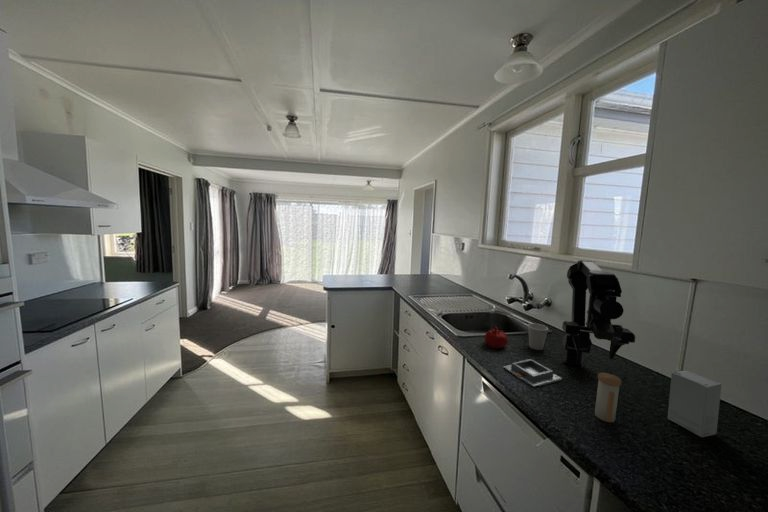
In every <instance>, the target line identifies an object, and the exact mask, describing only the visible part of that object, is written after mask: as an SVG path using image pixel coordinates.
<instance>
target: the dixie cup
mask: <svg viewBox="0 0 768 512" xmlns="http://www.w3.org/2000/svg"><path fill="white" fill-rule="evenodd" d="M527 327H528V346H529V348H530V349H532V350H536V351H542V350H544V347H545V343H546V338H547V334H548V331H549V327H547V326H546V325H544V324H541V323H535V322H534V323H528V324H527Z"/></svg>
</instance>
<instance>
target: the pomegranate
mask: <svg viewBox="0 0 768 512" xmlns="http://www.w3.org/2000/svg"><path fill="white" fill-rule="evenodd" d="M507 335H508V334H507V333H505V331H504V330H502V329H501V330H499V327H497V326H494V328H493V327H490V329H489V330H488V331H486V333H485V334H484V342H485V344H486V345H487V346H488V347H489V348H491V349H504V348H505V347H506V346H507V344H508V342H509V338H508V336H507Z"/></svg>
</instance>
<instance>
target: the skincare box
mask: <svg viewBox="0 0 768 512" xmlns="http://www.w3.org/2000/svg"><path fill="white" fill-rule="evenodd" d="M670 376H671V378H670V388H669V389H670V390H669V398H668V410H667V419H668V420H669V421H671V422H673V423H675V424H677V425H679V426H681V427H682V428H683V429H686V430H687V431H689V432H691V433H692V434H695V435H696V436H698V437H700V438H705V437H710V436H711V437H712V436H715V435H716V434H717V432H718V421H719V412H720V405H721V404H720V403H721V394H722V383H720V382H717V381H714V380H711V379H709V378H707V377H704V376H701V375H699V374H696V373H693V372H691V371H688V370H680V371H673V372H671V375H670Z"/></svg>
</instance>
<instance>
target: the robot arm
mask: <svg viewBox="0 0 768 512" xmlns="http://www.w3.org/2000/svg"><path fill="white" fill-rule="evenodd" d="M566 278H567V279H568V284H569V285H570V287H571V289H572V295H571V296H572V299H571V300H572V301H571V302H572V304H571V321H567V320H565V321H563V322H562V326H561V329H562V331H564V333H565V335H564V336H563V338H562V340H561V341H562V342H561V346H562V348H563V350H566V351H565V358H564V359H563V360H562V363H563V364H566V365H569V366H572V367H573V368H577V369H580V370H581V369H582V368H583V367H584V366H585V364H586V362H584V361H583V359H584V353H587V354H590V352H591V349H592V348H591V347H592V344H593V342H592V339H591V334H593V336H594V338H595V339H597V340H606V341H610V344H609V345H610V346H609V352H608V353H609V355H608V357H609V359H610V360H613V358H614V357H615V356H616V354H617V352H619V349H620V348H622V346H625V345H629V344H630V343H635V342H636V334H634V333H633V332H632V331H631V330H630V329H628V328H624V327H623V326H622V325H621V324H613V323H612V320H617V319H619V318H621V317H622V315H623V314H624V307H623V305H622V304H621V303H620V302H619V301H617V298H621V297H622V295H621V294H622V292H623V291H622V288H621V285H620V281H619V279H618V277H617V275H616V274H615V273H613V272H608V271H604V270H602V269H601V268H600V267H599V266H598V265H597V264H596V261H594V260H590V259H581V260H578V261H577V263H574V264H572V265H570V266H569V268H568V269H567V273H566ZM587 290H588V294H589V299H588V307H586V306H587ZM587 308H588V309H587ZM586 309H587V310H586ZM586 313H587V317H586Z"/></svg>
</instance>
